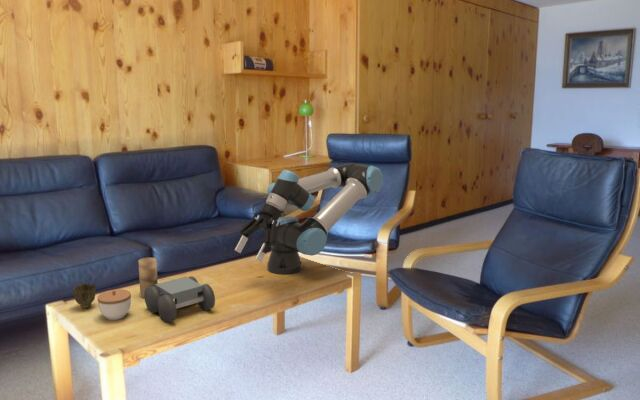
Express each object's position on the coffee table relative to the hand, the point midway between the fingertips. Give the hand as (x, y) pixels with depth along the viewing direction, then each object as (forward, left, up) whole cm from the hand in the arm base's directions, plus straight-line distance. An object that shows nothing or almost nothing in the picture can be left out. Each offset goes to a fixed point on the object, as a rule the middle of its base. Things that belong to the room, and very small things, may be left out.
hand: (247, 255), depth 200 cm
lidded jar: (+46, -13, -16) cm, 51 cm away
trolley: (+27, -3, -15) cm, 31 cm away
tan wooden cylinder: (+29, -23, -15) cm, 40 cm away
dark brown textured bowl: (+51, -27, -16) cm, 60 cm away
